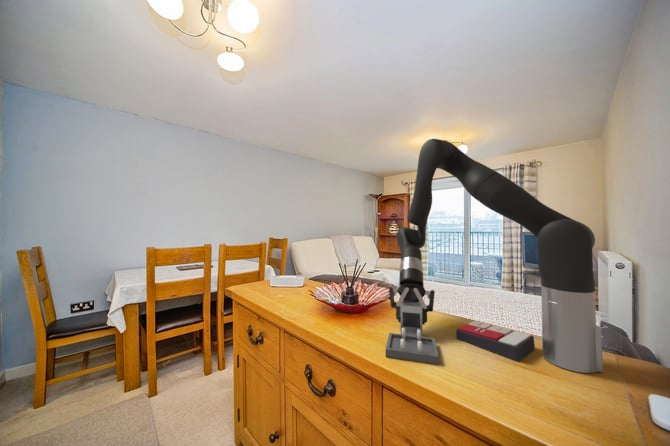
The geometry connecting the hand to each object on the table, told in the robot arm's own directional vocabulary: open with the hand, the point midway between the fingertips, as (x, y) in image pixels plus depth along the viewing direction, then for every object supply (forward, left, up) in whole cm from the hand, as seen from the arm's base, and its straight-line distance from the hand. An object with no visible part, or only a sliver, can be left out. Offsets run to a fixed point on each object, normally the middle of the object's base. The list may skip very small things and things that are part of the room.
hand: (411, 321), depth 71 cm
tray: (0, +8, -4) cm, 9 cm away
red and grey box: (-21, -2, -5) cm, 22 cm away
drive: (0, -2, -4) cm, 5 cm away
